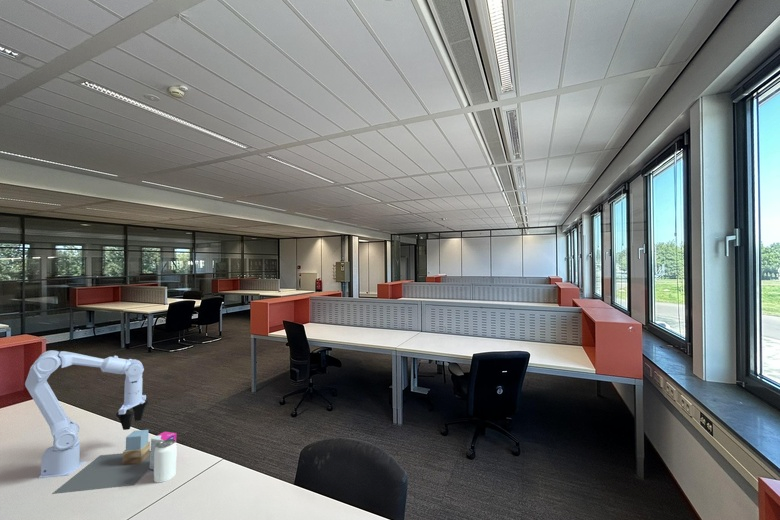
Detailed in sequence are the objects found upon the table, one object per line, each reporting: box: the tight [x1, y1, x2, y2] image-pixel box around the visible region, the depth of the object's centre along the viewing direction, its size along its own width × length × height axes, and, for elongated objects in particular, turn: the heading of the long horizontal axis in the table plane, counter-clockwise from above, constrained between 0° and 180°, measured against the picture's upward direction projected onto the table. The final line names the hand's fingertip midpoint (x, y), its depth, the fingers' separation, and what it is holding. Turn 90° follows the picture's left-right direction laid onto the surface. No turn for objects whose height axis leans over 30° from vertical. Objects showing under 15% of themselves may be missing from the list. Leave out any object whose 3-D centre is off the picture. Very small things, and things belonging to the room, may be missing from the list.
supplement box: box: [149, 431, 177, 471], centre depth 118 cm, size 6×6×12 cm
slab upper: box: [122, 441, 151, 459], centre depth 122 cm, size 6×6×2 cm
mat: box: [51, 450, 151, 495], centre depth 116 cm, size 24×22×1 cm
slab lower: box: [123, 448, 151, 465], centre depth 122 cm, size 6×6×2 cm
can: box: [153, 439, 178, 483], centre depth 112 cm, size 6×6×12 cm
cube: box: [125, 429, 149, 451], centre depth 122 cm, size 5×5×5 cm
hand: (132, 424), depth 129 cm, fingers open, 7 cm apart
